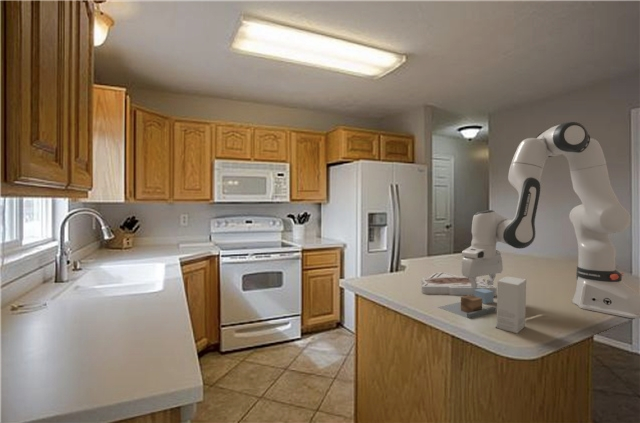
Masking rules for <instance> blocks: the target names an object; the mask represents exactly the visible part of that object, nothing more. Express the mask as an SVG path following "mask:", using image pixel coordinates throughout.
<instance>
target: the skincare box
mask: <svg viewBox="0 0 640 423" xmlns="http://www.w3.org/2000/svg"><path fill="white" fill-rule="evenodd" d="M496 287H497V296H496V329H498V330H502V331H507V332H510V333H514V334H518V333H519V332H520V331H522V330H523V329H524V328H525V327H526V301H527V300H526V299H527V279H525V278H519V277H514V276H504V277H502V278H500V279H499V280H497V286H496Z"/></svg>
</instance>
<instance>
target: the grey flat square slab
mask: <svg viewBox="0 0 640 423" xmlns="http://www.w3.org/2000/svg"><path fill="white" fill-rule="evenodd" d="M437 308H439V309H441V310H444V311H448V312H450V313H452V314H455V315H458V316H461V317H464V318H467V319H473V318H478V317H481V316H485V315H488V314H493V313H495V312H496V313H497V306H491V307H487V308H486V307H482V310H478V311H474V312H470V313H467V312H464V311H461V301H459V302H454V303H450V304H445V305H441V306H437Z"/></svg>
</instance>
